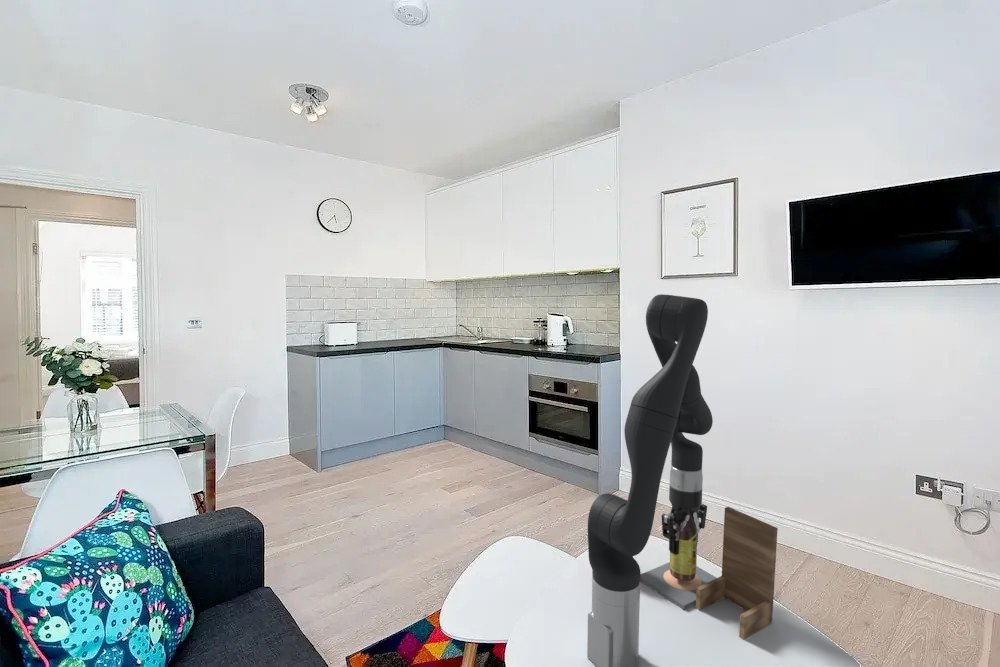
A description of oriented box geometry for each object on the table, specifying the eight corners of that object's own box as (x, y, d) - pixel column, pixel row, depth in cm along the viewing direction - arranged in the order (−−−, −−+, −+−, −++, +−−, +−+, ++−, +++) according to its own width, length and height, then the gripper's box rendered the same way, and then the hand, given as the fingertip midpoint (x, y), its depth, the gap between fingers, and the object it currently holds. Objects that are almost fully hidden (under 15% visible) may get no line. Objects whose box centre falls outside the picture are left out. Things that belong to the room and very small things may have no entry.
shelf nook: (743, 639, 107) (748, 540, 104) (695, 607, 117) (699, 517, 115) (772, 622, 112) (777, 528, 110) (723, 593, 122) (728, 506, 120)
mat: (683, 609, 117) (683, 605, 116) (638, 578, 129) (638, 574, 128) (727, 587, 125) (727, 583, 124) (681, 560, 137) (681, 556, 136)
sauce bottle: (698, 584, 122) (700, 505, 120) (671, 581, 124) (673, 503, 121) (693, 568, 129) (696, 493, 126) (667, 566, 130) (669, 491, 128)
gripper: (678, 496, 117) (675, 565, 119) (718, 483, 124) (715, 548, 126) (653, 485, 123) (651, 550, 125) (692, 473, 130) (690, 535, 132)
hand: (683, 549), depth 125 cm, fingers closed on sauce bottle, 6 cm apart
